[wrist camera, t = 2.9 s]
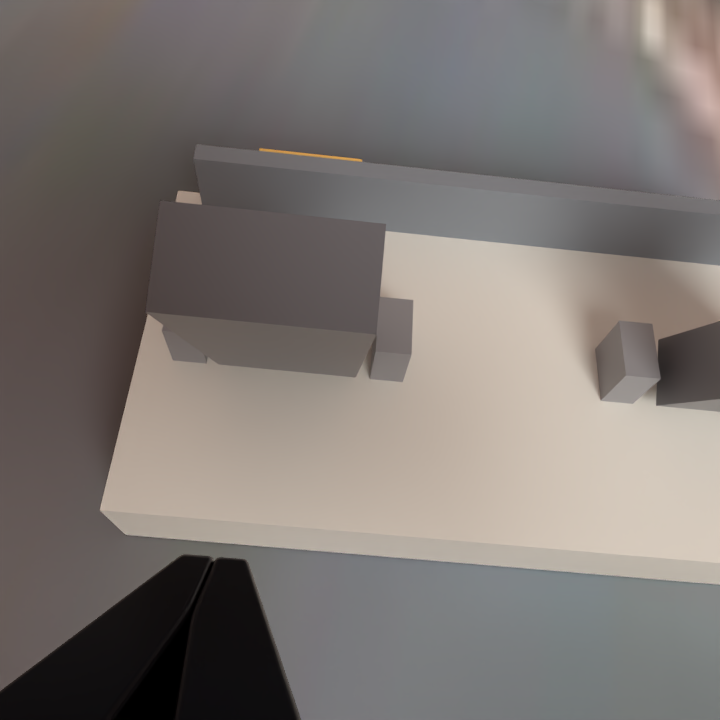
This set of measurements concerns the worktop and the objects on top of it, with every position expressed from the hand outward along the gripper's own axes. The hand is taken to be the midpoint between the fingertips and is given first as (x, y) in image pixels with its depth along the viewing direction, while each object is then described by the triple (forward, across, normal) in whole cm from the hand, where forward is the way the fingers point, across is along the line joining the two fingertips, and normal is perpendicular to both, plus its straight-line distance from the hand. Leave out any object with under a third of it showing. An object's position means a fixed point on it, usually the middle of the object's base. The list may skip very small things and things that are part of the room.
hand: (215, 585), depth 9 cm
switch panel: (+14, -6, +3) cm, 16 cm away
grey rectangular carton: (+12, 0, 0) cm, 12 cm away
